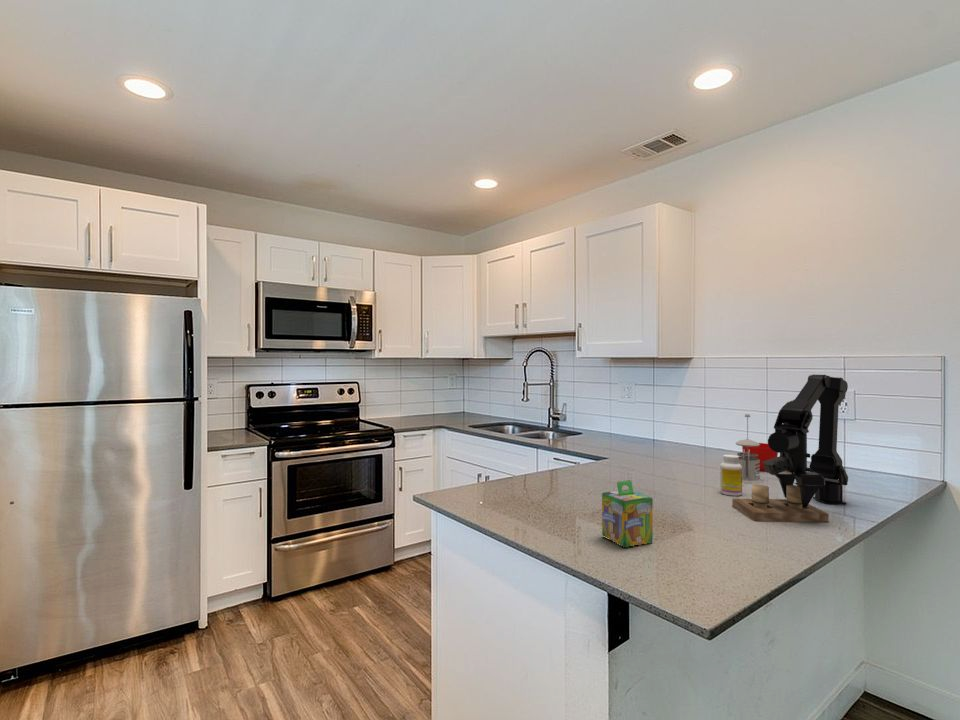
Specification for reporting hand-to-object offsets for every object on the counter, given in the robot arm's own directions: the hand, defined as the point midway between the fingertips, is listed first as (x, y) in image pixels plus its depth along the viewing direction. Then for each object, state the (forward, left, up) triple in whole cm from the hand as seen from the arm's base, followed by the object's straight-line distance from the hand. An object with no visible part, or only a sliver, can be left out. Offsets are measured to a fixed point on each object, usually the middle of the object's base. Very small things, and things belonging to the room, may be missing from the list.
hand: (795, 502), depth 146 cm
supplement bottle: (+9, -22, -4) cm, 24 cm away
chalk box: (+54, +24, -4) cm, 59 cm away
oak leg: (0, 0, -4) cm, 4 cm away
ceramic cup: (-21, -61, -4) cm, 65 cm away
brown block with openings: (+5, 0, -4) cm, 6 cm away
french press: (-5, -41, -4) cm, 41 cm away
